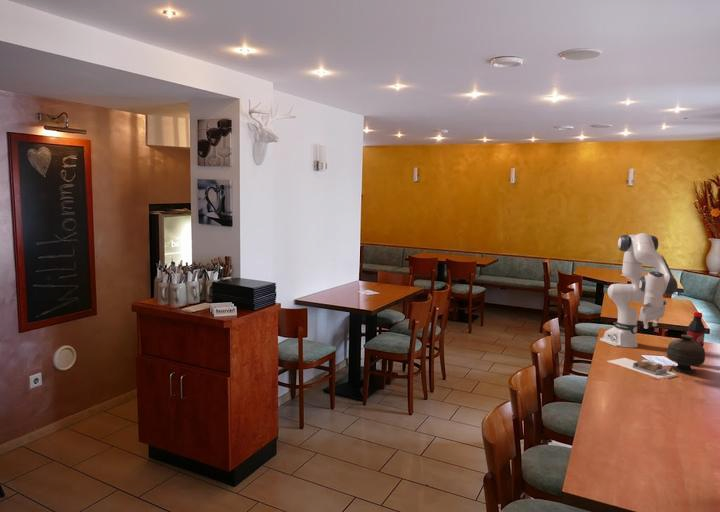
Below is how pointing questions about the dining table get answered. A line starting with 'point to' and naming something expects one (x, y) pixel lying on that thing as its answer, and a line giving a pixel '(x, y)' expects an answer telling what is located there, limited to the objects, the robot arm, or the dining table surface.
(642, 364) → the frame
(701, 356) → the pot
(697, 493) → the dining table surface
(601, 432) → the dining table surface
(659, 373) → the wall panel
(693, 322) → the cola bottle
